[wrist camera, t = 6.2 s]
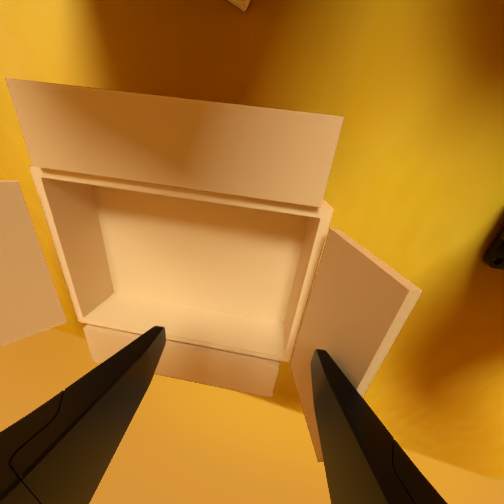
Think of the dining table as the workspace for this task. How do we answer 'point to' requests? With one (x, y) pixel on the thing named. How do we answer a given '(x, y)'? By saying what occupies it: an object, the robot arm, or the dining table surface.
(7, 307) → the flap
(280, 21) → the dining table surface
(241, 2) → the tea box
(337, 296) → the flap
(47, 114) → the carton
